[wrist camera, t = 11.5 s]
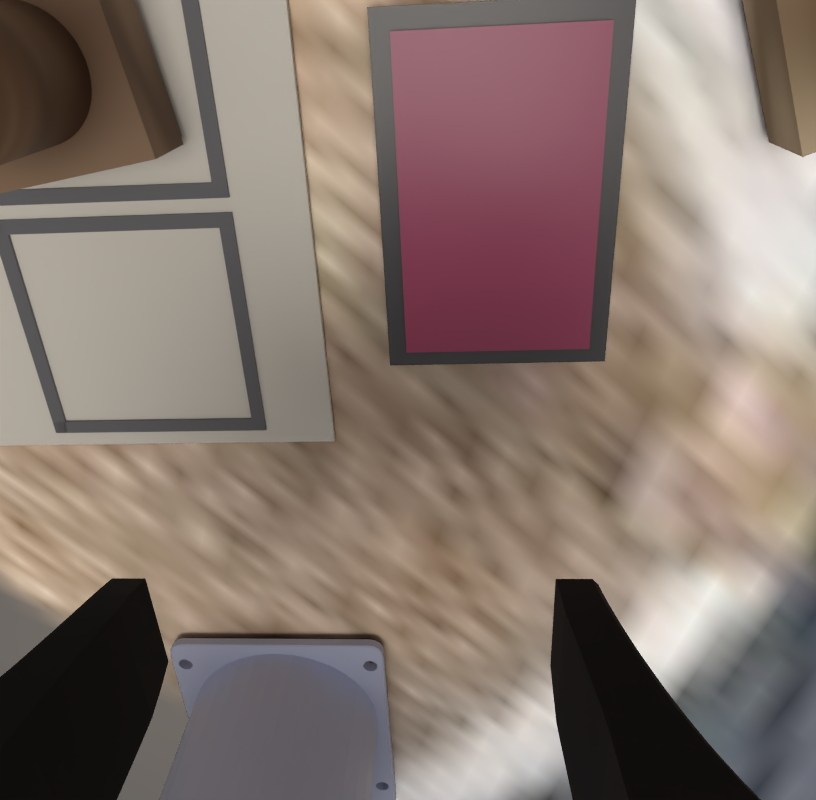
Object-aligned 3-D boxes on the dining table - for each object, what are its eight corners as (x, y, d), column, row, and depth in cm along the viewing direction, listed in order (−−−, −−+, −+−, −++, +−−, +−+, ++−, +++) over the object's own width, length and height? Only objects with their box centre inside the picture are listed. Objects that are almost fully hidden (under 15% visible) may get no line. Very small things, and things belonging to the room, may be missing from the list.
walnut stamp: (189, 140, 19) (77, 199, 13) (33, 176, 20) (-138, 246, 14) (123, -58, 17) (-42, -89, 11) (-49, -12, 18) (-287, -18, 12)
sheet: (335, 438, 23) (334, 443, 23) (3, 442, 24) (-3, 446, 24) (272, -142, 16) (269, -144, 16) (-195, -110, 17) (-205, -112, 17)
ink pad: (598, 346, 21) (606, 365, 20) (392, 350, 22) (389, 369, 21) (627, -7, 17) (639, -7, 16) (371, 6, 18) (366, 7, 17)
